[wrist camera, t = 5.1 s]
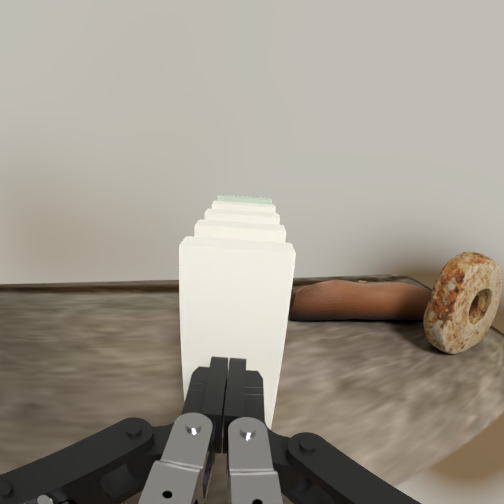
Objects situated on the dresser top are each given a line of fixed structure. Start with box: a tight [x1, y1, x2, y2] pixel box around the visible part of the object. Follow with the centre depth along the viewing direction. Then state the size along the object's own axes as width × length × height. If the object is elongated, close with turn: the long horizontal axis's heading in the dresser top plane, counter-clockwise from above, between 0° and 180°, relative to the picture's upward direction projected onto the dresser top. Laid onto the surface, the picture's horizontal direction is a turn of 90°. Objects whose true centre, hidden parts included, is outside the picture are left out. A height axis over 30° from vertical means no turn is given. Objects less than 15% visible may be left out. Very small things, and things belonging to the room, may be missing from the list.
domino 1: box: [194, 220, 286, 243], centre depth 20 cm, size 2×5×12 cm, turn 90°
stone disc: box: [423, 252, 502, 354], centre depth 26 cm, size 10×4×10 cm, turn 104°
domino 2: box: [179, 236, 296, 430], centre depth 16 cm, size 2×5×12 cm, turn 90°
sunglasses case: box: [290, 280, 432, 321], centre depth 35 cm, size 18×7×7 cm
